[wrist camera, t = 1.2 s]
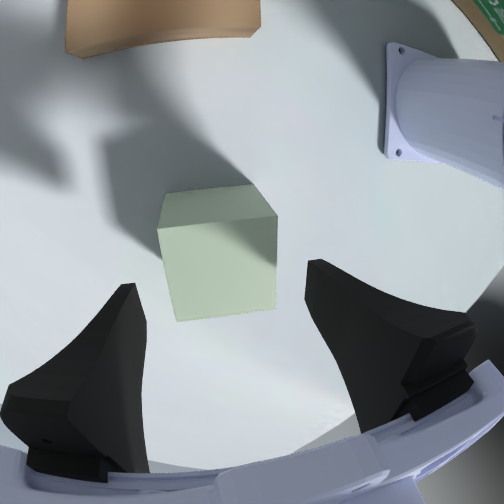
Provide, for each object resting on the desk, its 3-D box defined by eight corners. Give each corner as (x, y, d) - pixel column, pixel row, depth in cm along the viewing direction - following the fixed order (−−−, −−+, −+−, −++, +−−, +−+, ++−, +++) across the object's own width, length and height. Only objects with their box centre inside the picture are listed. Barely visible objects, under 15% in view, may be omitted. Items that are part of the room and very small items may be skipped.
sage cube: (253, 183, 17) (277, 215, 12) (255, 259, 19) (275, 308, 15) (165, 192, 16) (156, 229, 11) (177, 268, 18) (176, 322, 14)
